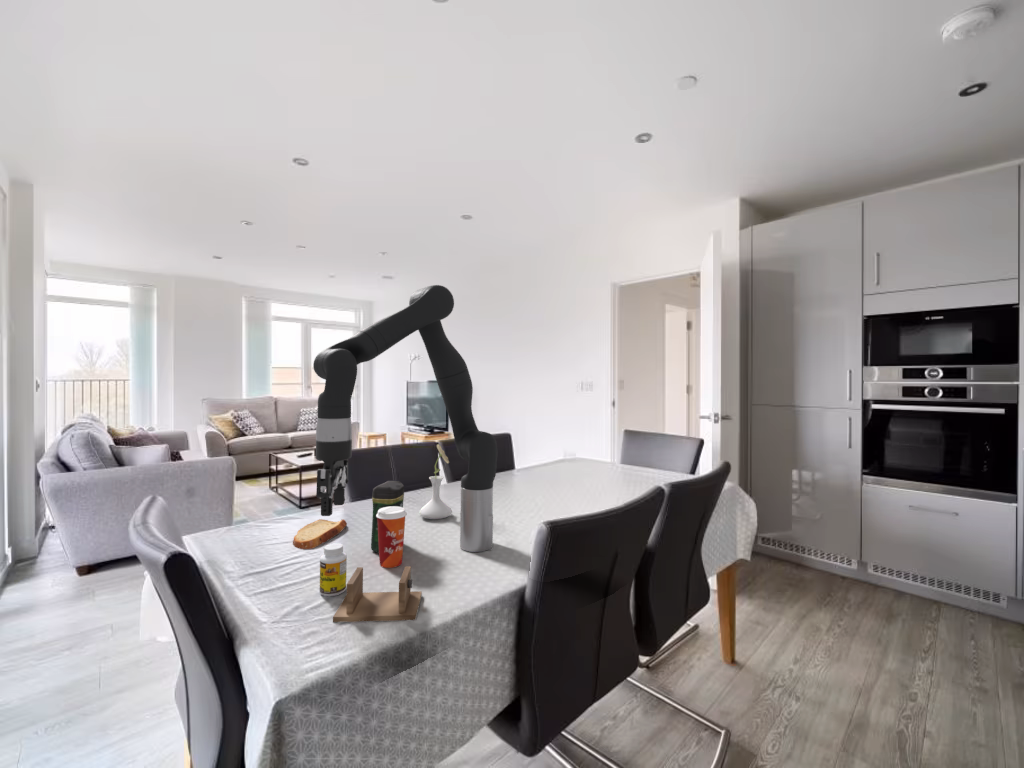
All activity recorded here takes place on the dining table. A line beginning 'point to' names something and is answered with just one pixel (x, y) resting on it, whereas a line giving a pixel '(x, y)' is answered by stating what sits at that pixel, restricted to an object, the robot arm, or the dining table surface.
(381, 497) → the coffee jar
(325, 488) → the robot arm
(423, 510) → the flower in vase
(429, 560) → the dining table surface
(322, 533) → the slice of bread
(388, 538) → the paper cup
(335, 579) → the supplement bottle
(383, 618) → the holder
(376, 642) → the dining table surface
